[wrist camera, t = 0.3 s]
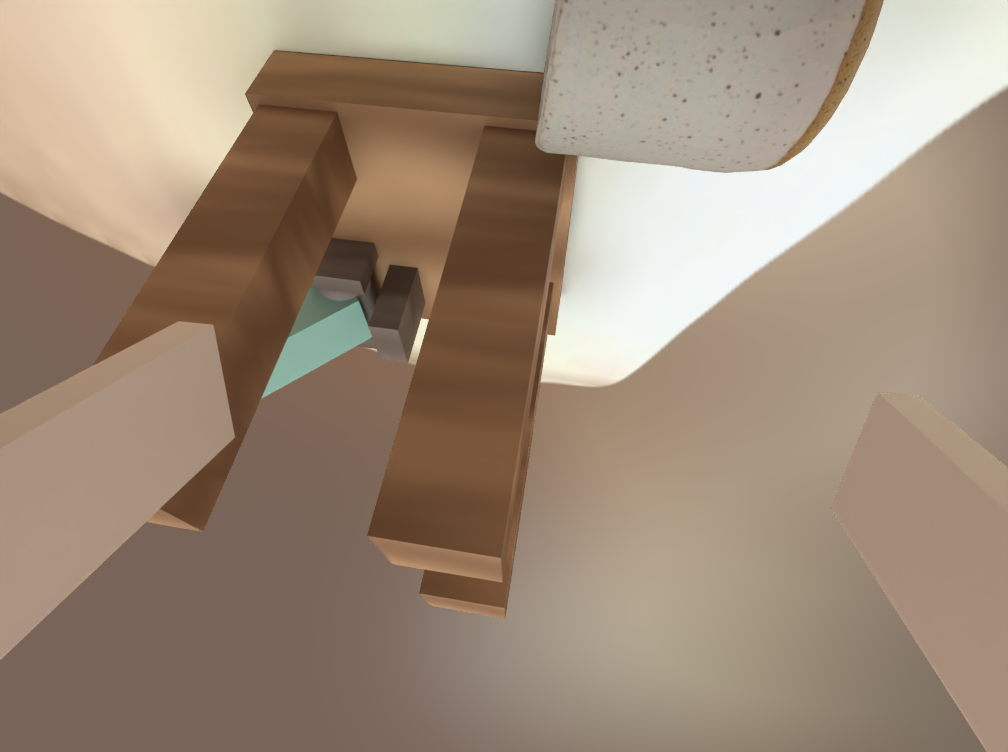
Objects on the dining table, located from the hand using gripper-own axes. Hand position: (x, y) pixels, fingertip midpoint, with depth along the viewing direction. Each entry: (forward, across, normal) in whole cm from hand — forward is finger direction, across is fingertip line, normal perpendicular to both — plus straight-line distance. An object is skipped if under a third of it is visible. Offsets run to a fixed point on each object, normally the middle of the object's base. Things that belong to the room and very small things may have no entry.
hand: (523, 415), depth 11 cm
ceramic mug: (+12, +3, +11) cm, 17 cm away
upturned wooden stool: (+19, -6, +2) cm, 20 cm away
